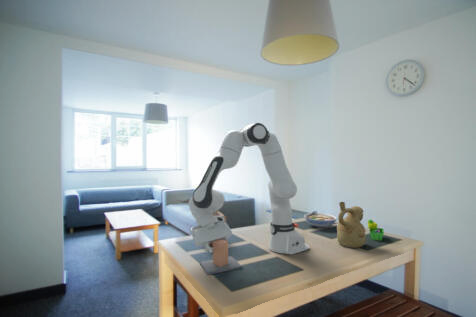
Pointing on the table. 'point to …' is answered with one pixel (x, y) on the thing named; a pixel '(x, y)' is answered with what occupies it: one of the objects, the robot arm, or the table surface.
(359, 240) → the ceramic vessel
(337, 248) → the table surface
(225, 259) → the block
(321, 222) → the ramen bowl
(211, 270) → the mat
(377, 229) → the fruit basket
